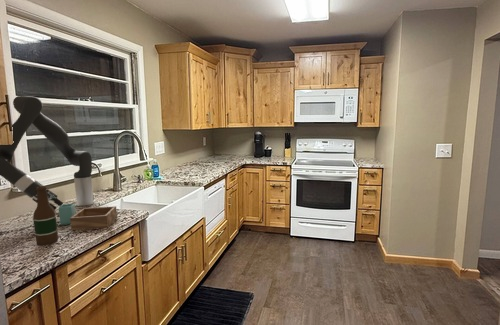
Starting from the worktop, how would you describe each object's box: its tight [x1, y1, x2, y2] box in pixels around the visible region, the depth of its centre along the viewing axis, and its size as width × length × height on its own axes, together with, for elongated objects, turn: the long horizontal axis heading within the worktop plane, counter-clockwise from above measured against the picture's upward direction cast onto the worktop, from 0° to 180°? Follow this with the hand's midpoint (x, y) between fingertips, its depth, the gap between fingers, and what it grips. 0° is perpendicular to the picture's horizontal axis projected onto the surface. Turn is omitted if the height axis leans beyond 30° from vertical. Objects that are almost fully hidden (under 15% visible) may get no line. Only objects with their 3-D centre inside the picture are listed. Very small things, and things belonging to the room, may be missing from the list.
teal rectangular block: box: [58, 203, 77, 226], centre depth 146 cm, size 6×6×9 cm
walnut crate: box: [70, 205, 118, 231], centre depth 145 cm, size 16×16×6 cm
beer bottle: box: [32, 185, 59, 247], centre depth 121 cm, size 8×8×24 cm
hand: (58, 207), depth 144 cm, fingers open, 8 cm apart
